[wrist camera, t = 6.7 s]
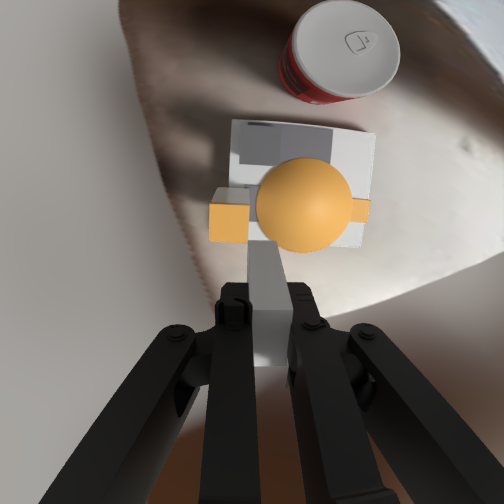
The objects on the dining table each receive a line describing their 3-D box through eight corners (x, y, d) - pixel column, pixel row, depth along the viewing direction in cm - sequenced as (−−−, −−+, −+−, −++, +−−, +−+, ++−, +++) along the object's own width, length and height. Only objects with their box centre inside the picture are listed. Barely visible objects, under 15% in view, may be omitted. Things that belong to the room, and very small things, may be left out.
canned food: (368, 71, 27) (419, 54, 17) (318, 121, 30) (352, 121, 19) (314, 21, 25) (344, -20, 15) (261, 69, 28) (268, 43, 17)
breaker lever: (217, 187, 30) (209, 204, 24) (249, 188, 30) (249, 205, 24) (216, 217, 31) (209, 241, 25) (247, 218, 31) (247, 243, 25)
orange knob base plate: (232, 119, 29) (227, 117, 22) (370, 133, 30) (406, 138, 22) (227, 241, 34) (222, 276, 27) (355, 247, 35) (381, 281, 27)
